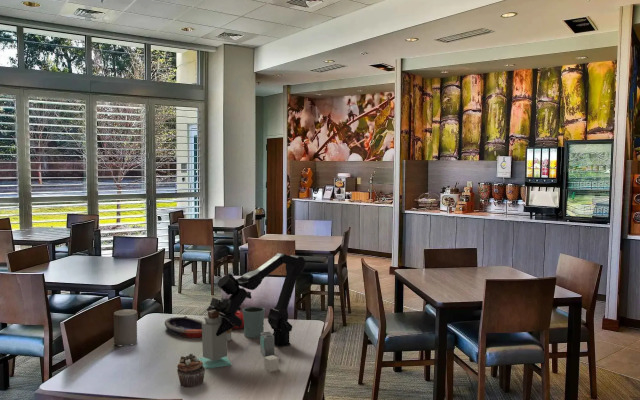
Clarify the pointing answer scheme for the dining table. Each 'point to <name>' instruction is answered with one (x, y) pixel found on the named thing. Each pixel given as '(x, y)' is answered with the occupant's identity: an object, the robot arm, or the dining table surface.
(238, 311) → the pomegranate
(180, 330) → the inflatable boat
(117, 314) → the pillar candle
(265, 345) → the napkin dispenser
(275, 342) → the robot arm
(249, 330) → the drinking glass
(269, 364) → the grey block
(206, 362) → the teal tile
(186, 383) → the cupcake
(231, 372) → the dining table surface
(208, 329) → the perfume bottle
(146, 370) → the dining table surface
